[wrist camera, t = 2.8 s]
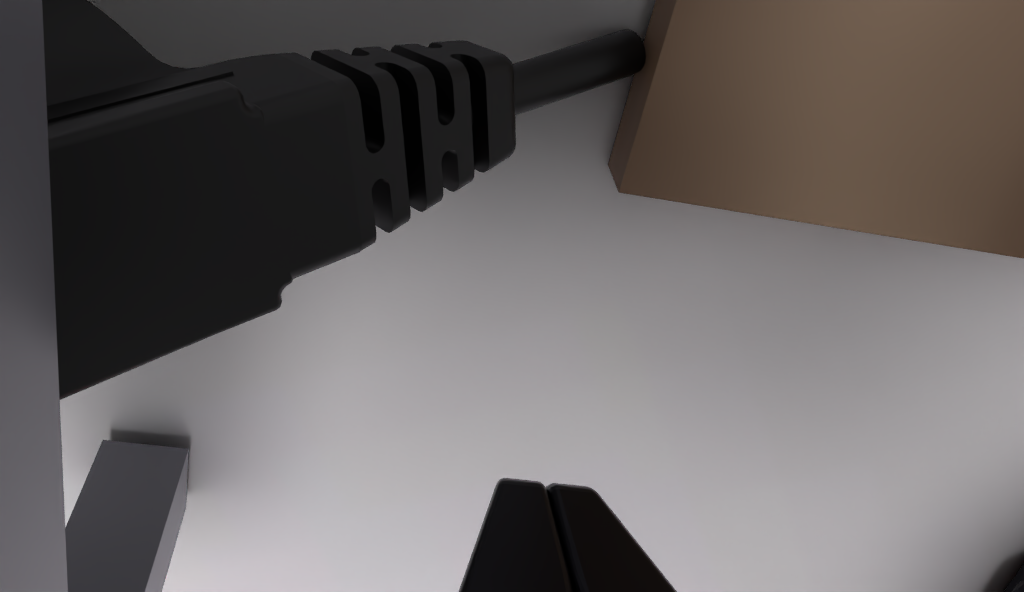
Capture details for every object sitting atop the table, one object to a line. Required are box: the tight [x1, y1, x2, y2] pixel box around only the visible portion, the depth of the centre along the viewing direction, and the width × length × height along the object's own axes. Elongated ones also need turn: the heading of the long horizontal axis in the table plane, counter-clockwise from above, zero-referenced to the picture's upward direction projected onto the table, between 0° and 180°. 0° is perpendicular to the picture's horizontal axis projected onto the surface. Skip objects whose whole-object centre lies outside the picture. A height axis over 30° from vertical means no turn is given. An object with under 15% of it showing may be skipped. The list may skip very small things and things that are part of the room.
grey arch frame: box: [0, 0, 189, 592], centre depth 9 cm, size 2×16×10 cm, turn 168°
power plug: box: [42, 0, 646, 400], centre depth 13 cm, size 6×8×12 cm
